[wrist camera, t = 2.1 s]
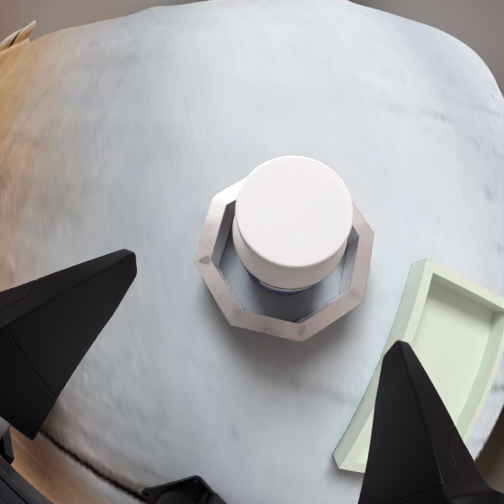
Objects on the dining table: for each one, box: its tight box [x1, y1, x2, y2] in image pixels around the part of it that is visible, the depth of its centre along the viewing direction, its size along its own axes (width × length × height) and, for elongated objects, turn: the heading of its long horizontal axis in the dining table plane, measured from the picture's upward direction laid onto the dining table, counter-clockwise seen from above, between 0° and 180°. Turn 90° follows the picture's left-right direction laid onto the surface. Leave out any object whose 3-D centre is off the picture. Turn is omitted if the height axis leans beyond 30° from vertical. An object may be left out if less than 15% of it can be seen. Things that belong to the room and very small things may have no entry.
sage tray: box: [332, 258, 504, 473], centre depth 16 cm, size 16×11×2 cm
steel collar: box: [194, 178, 374, 342], centre depth 19 cm, size 11×11×3 cm
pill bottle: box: [233, 156, 354, 295], centre depth 15 cm, size 6×6×10 cm
